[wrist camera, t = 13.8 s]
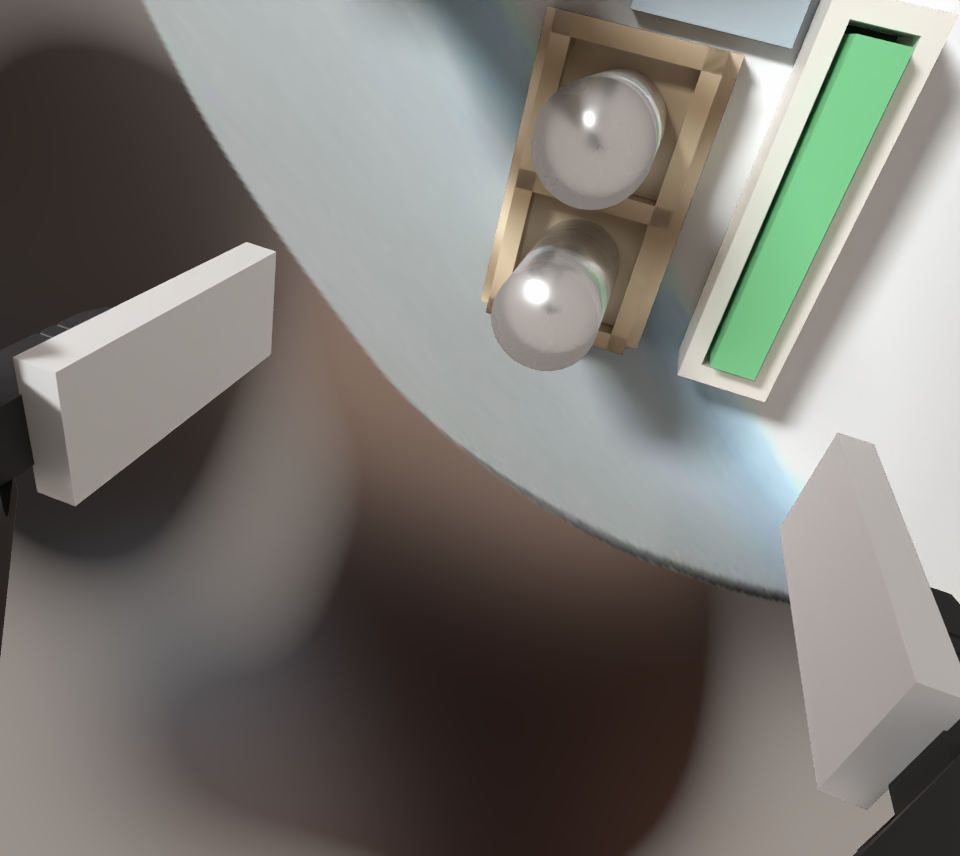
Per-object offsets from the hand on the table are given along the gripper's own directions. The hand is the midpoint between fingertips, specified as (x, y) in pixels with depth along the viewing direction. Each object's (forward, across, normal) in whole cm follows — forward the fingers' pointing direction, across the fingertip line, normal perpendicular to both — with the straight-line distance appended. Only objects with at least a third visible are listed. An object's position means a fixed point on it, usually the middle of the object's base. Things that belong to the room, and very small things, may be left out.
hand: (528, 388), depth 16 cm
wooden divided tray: (+27, -2, -2) cm, 27 cm away
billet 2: (+26, -1, -5) cm, 26 cm away
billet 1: (+26, -2, +2) cm, 26 cm away
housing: (+27, +8, 0) cm, 29 cm away
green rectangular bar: (+26, +8, 0) cm, 28 cm away
